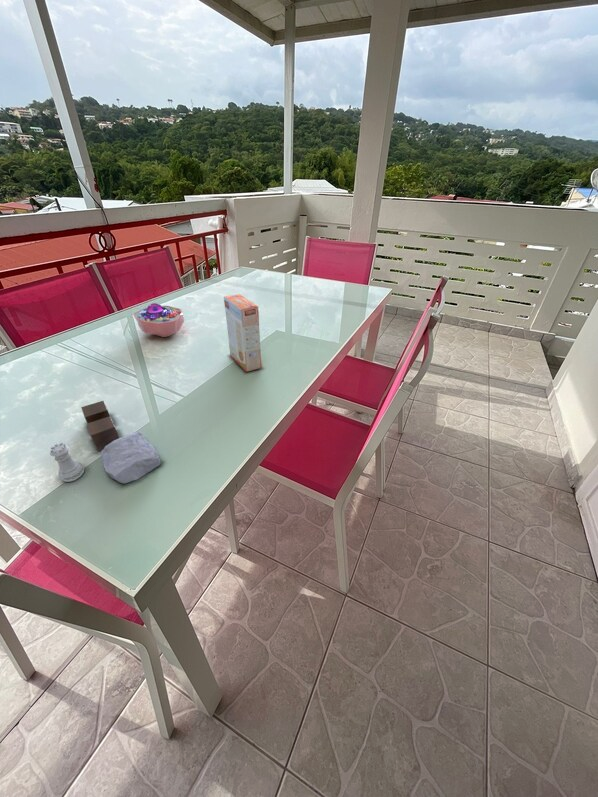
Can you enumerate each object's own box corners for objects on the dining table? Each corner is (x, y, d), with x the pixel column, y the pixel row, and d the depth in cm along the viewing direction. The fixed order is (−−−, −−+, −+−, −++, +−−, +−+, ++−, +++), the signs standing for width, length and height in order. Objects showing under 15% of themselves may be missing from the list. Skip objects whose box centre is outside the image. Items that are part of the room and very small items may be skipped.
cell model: (150, 348, 119) (142, 318, 112) (133, 331, 132) (125, 303, 125) (194, 336, 128) (189, 308, 121) (175, 321, 140) (169, 294, 134)
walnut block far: (91, 433, 81) (84, 417, 78) (88, 422, 84) (81, 407, 81) (113, 425, 83) (107, 409, 80) (109, 415, 86) (103, 400, 84)
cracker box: (262, 368, 108) (259, 305, 96) (245, 373, 105) (239, 309, 93) (245, 351, 118) (240, 292, 106) (229, 355, 115) (222, 295, 103)
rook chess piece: (55, 481, 68) (38, 453, 64) (71, 465, 72) (56, 438, 67) (75, 484, 68) (59, 456, 63) (89, 468, 71) (75, 440, 67)
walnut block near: (98, 451, 75) (90, 435, 72) (94, 439, 79) (86, 423, 76) (121, 443, 78) (114, 426, 75) (116, 431, 81) (110, 415, 78)
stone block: (123, 494, 68) (166, 463, 72) (111, 480, 65) (156, 449, 69) (104, 465, 75) (144, 438, 79) (92, 451, 72) (134, 424, 76)
